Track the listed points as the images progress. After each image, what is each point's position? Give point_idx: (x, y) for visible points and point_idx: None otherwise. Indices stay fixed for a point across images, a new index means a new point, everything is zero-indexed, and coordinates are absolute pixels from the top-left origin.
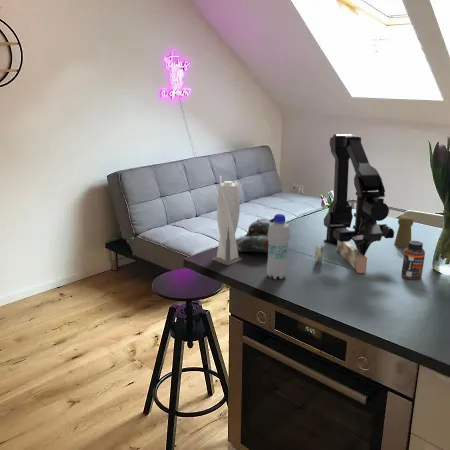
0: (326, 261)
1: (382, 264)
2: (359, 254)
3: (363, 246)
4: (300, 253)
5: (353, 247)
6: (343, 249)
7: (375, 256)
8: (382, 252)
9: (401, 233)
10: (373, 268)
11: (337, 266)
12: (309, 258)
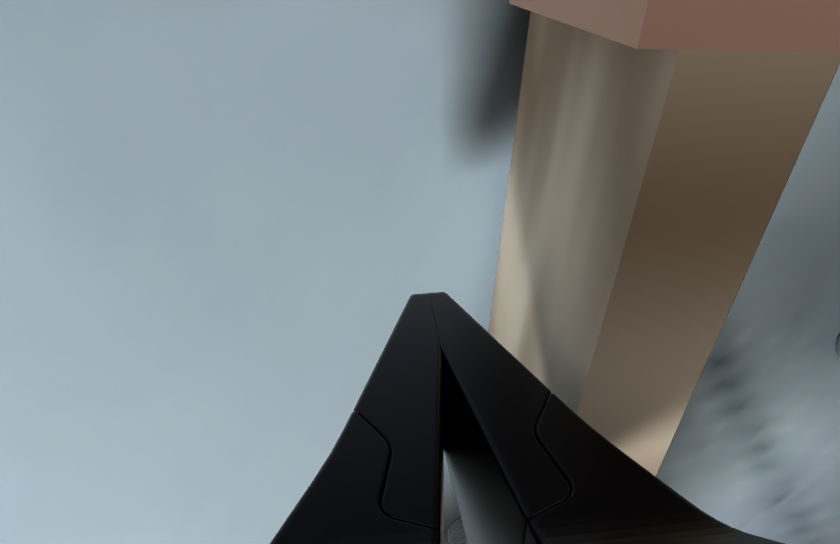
0: (739, 384)
1: (79, 254)
2: (727, 163)
3: (513, 476)
4: (814, 529)
5: None
6: None
7: (130, 465)
8: (28, 537)
9: None
10: (264, 125)
11: None
12: (834, 449)
